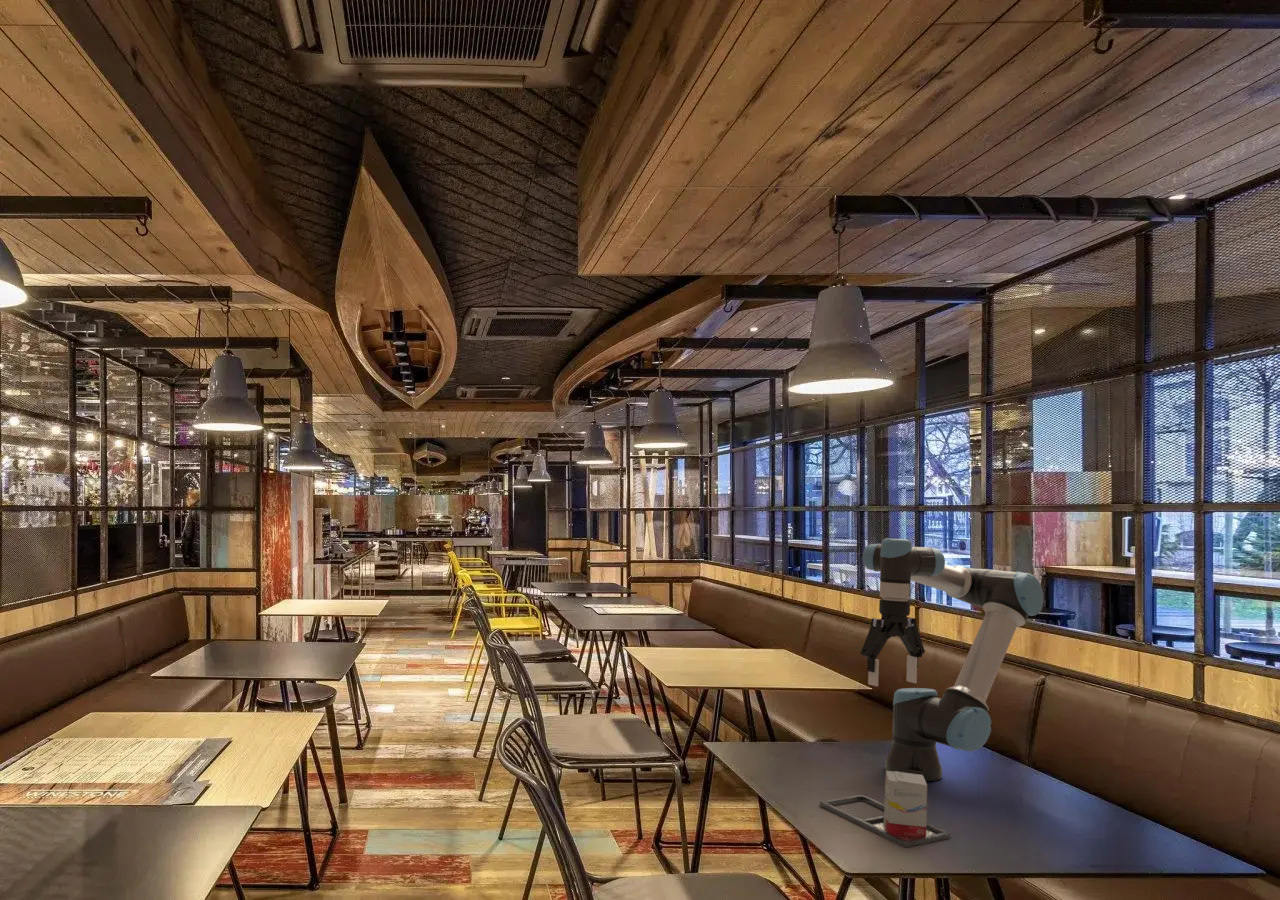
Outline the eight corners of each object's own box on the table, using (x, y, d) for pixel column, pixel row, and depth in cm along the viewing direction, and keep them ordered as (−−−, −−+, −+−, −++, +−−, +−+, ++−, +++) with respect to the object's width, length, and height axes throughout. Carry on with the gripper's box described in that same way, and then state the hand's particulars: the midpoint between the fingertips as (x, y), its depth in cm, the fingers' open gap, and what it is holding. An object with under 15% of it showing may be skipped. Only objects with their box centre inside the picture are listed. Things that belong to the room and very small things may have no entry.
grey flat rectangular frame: (862, 798, 206) (862, 794, 206) (950, 837, 183) (950, 833, 183) (819, 805, 199) (819, 801, 199) (905, 847, 176) (905, 843, 176)
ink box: (927, 839, 180) (928, 784, 181) (886, 834, 182) (888, 780, 183) (921, 825, 189) (923, 772, 190) (883, 821, 191) (884, 768, 191)
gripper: (917, 597, 219) (915, 677, 218) (848, 597, 207) (845, 683, 205) (940, 600, 213) (938, 683, 211) (869, 601, 200) (867, 689, 199)
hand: (892, 683), depth 208 cm, fingers open, 13 cm apart
